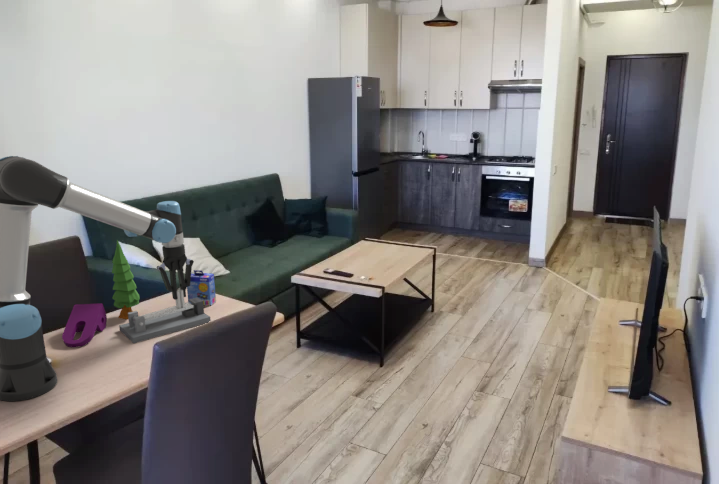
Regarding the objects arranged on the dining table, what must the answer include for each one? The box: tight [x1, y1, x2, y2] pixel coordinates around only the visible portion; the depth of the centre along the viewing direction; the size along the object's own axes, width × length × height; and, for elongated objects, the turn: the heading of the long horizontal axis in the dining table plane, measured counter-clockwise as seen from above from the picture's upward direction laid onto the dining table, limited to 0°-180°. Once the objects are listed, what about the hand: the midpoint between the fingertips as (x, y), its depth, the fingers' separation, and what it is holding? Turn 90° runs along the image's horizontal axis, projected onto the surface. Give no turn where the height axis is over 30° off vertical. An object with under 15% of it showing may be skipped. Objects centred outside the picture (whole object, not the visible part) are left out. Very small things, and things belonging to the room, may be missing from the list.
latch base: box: [118, 298, 212, 344], centre depth 196 cm, size 28×14×7 cm, turn 131°
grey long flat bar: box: [132, 301, 194, 322], centre depth 195 cm, size 21×4×2 cm, turn 131°
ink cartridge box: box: [186, 269, 217, 306], centre depth 217 cm, size 10×6×14 cm, turn 82°
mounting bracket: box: [61, 303, 108, 348], centre depth 188 cm, size 10×8×18 cm
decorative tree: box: [111, 239, 140, 321], centre depth 201 cm, size 10×9×30 cm
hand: (180, 306), depth 199 cm, fingers closed, pressing on grey long flat bar
